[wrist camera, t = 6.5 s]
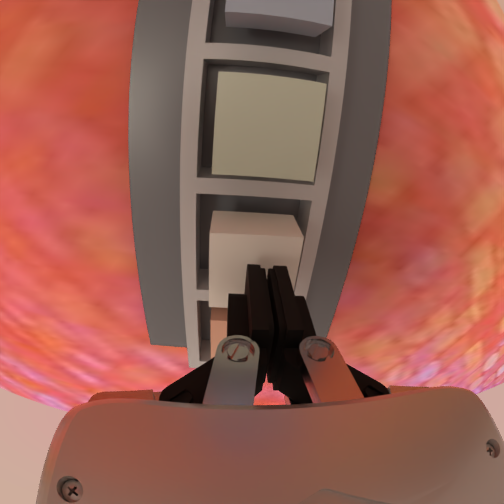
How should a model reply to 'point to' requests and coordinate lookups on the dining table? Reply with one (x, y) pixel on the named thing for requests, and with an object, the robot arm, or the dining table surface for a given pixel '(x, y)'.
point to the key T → (281, 15)
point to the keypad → (244, 187)
